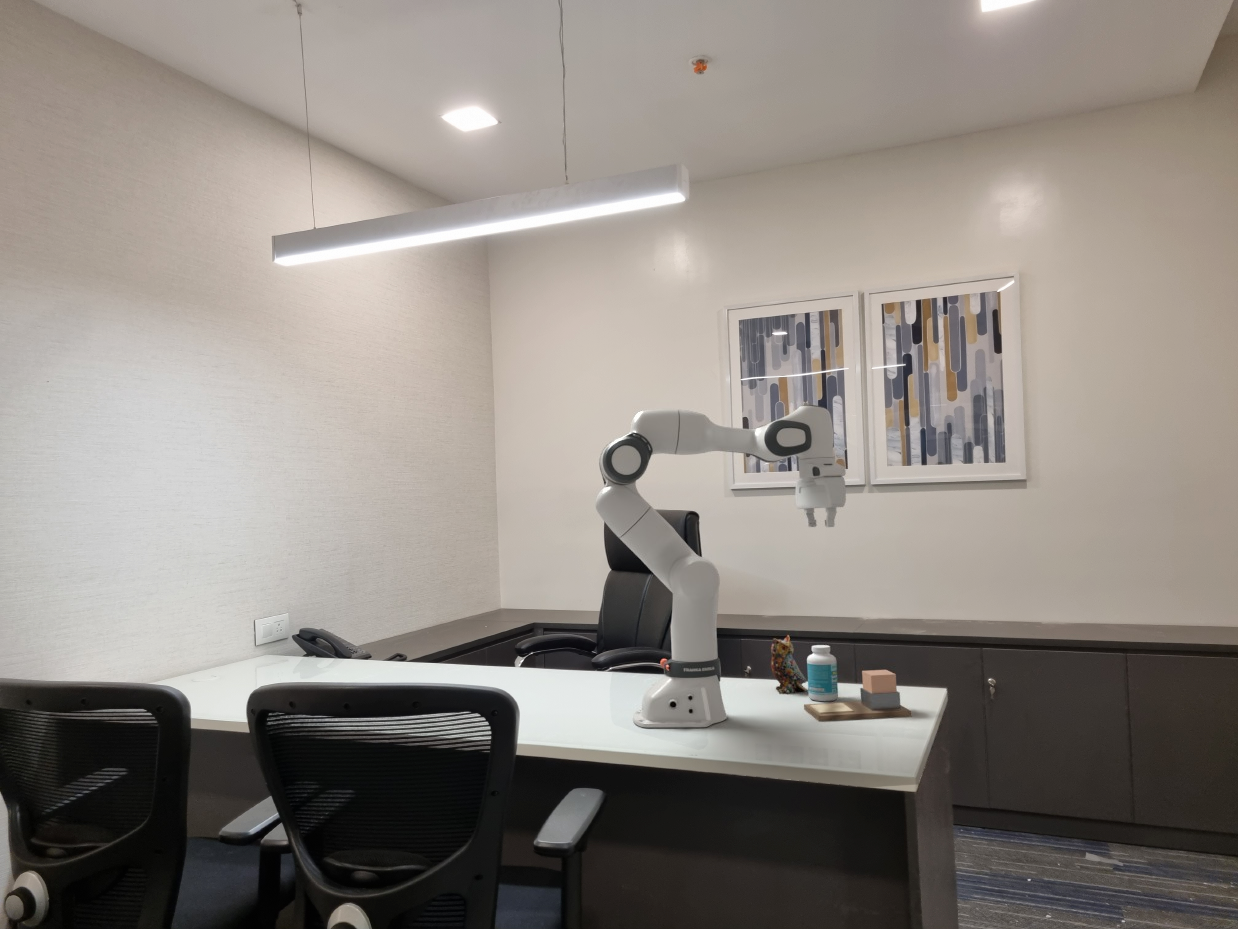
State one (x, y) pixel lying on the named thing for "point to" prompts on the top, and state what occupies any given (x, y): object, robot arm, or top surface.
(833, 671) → the pill bottle
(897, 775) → the top surface
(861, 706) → the board
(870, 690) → the salmon pink block
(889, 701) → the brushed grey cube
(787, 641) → the figurine
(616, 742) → the top surface
